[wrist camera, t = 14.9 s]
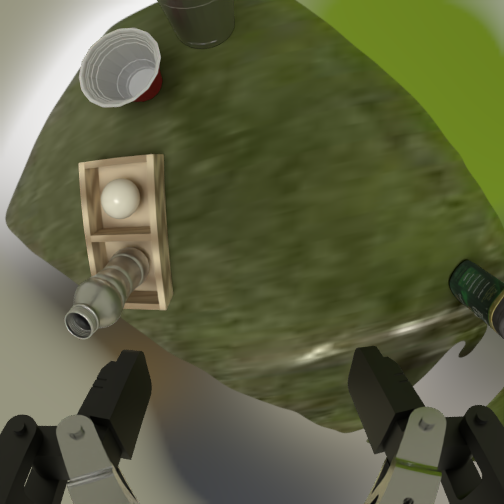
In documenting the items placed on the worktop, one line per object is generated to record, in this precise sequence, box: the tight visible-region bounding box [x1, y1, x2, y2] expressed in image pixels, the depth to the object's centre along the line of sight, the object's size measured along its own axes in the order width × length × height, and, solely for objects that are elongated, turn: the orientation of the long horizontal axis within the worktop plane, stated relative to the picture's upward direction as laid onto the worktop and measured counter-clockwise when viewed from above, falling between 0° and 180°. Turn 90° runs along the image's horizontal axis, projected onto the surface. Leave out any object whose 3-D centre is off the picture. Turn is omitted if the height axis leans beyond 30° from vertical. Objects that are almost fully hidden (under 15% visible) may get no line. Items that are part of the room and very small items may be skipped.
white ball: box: [101, 178, 140, 219], centre depth 40 cm, size 6×6×6 cm
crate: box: [79, 154, 173, 310], centre depth 42 cm, size 23×12×6 cm, turn 0°
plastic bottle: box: [65, 247, 149, 339], centre depth 36 cm, size 6×7×20 cm
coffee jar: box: [450, 260, 504, 339], centre depth 42 cm, size 10×8×19 cm
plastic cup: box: [79, 28, 162, 107], centre depth 32 cm, size 11×11×12 cm
